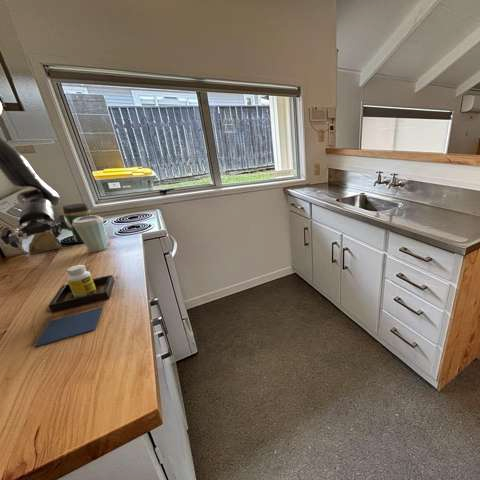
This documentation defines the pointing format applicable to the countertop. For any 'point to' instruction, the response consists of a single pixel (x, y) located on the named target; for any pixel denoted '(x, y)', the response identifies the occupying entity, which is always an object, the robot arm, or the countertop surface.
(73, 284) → the supplement bottle
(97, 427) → the countertop surface
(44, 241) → the rock
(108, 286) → the dark serving tray
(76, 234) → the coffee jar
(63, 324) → the mat
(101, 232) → the disposable coffee cup
